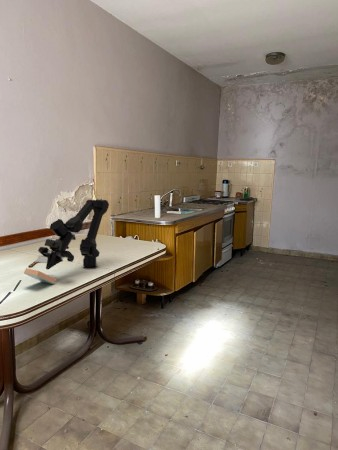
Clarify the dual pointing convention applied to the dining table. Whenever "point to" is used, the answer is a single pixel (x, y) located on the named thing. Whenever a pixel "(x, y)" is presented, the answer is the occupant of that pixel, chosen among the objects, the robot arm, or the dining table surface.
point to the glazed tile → (39, 276)
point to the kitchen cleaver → (39, 261)
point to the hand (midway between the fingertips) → (46, 269)
